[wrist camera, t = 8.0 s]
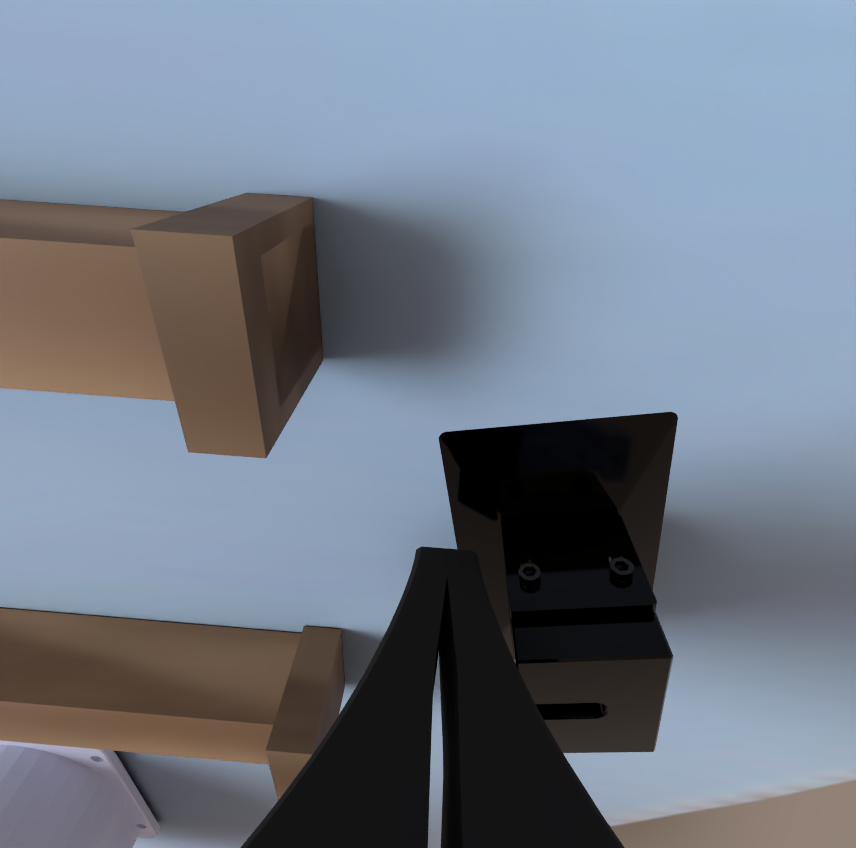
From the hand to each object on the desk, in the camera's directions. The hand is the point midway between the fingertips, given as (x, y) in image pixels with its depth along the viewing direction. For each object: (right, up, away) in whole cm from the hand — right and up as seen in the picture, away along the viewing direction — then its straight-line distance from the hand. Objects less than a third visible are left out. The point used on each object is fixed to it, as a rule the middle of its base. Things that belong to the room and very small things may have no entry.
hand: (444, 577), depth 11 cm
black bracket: (+3, 0, +2) cm, 4 cm away
